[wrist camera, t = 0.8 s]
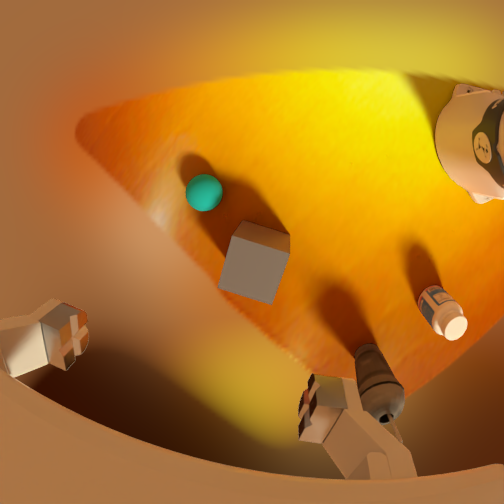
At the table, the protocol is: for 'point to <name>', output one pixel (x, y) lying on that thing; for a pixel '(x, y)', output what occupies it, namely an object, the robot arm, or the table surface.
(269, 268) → the matte grey cube
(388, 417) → the beverage cup
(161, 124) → the table surface
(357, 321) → the table surface
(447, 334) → the pill bottle
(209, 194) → the ball
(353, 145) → the table surface
